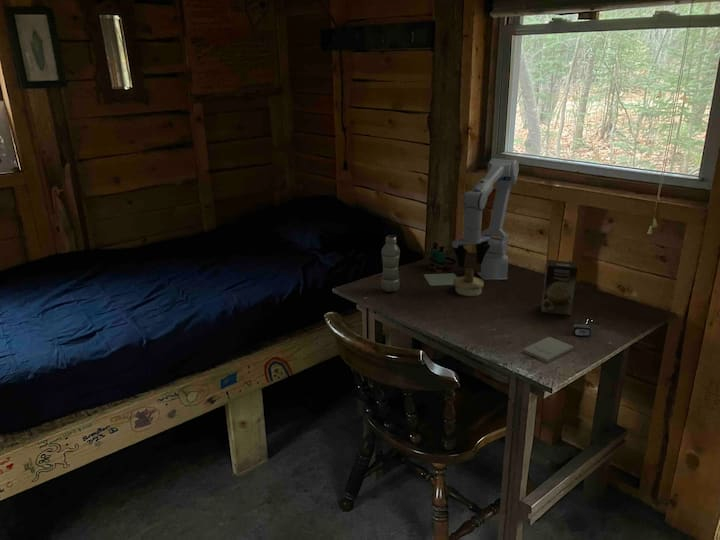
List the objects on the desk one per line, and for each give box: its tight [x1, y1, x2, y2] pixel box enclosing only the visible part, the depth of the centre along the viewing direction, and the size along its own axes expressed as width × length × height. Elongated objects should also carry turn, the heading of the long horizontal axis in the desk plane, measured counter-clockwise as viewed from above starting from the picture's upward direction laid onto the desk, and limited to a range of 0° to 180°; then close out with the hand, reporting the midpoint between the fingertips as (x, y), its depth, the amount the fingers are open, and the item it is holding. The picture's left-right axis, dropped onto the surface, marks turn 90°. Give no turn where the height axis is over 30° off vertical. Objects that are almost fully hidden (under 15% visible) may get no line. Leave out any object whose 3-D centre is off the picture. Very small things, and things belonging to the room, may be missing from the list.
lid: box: [453, 267, 485, 290], centre depth 196 cm, size 10×10×6 cm
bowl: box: [455, 286, 483, 297], centre depth 197 cm, size 8×8×3 cm
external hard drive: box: [521, 336, 574, 364], centre depth 156 cm, size 2×8×12 cm
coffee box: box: [540, 259, 578, 316], centre depth 181 cm, size 9×6×16 cm
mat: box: [422, 272, 458, 287], centre depth 209 cm, size 12×12×1 cm
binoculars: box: [428, 241, 457, 273], centre depth 220 cm, size 9×11×10 cm
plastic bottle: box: [380, 234, 401, 293], centre depth 196 cm, size 6×7×20 cm
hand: (470, 264), depth 194 cm, fingers open, 7 cm apart
